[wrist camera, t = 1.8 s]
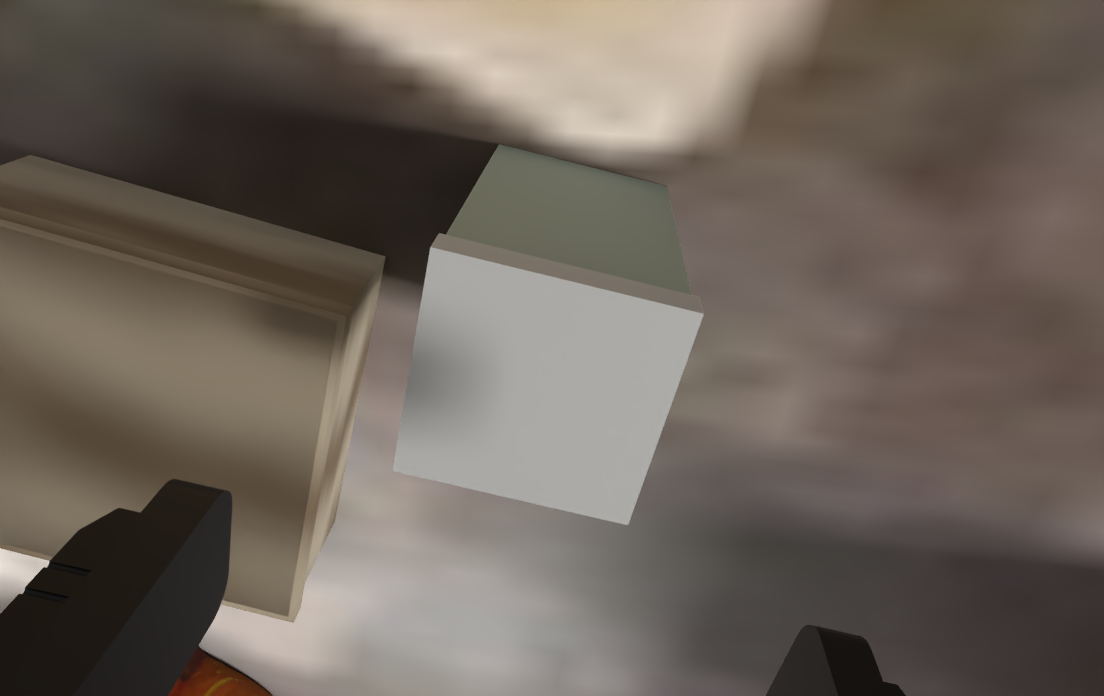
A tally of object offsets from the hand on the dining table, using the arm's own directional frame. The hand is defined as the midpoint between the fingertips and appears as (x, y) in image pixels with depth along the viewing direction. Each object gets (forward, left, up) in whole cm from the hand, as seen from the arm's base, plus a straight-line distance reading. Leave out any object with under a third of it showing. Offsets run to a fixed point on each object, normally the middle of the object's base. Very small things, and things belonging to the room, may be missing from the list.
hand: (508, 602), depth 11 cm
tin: (0, 0, -15) cm, 15 cm away
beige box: (+7, -11, -15) cm, 20 cm away
